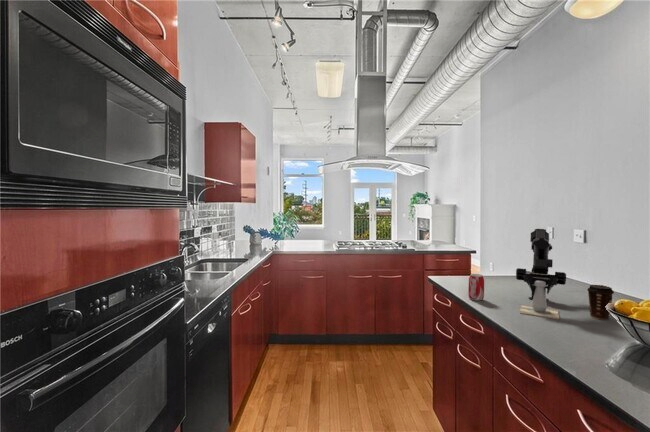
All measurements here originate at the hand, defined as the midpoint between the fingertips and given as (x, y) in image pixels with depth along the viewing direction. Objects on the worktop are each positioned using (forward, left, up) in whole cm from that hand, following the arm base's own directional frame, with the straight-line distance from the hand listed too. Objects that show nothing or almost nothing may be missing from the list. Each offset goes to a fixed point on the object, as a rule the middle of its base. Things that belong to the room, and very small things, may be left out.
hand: (539, 292), depth 151 cm
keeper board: (-1, -1, -9) cm, 9 cm away
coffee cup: (-17, +15, -9) cm, 24 cm away
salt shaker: (-1, -1, -9) cm, 9 cm away
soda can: (+6, -27, -9) cm, 29 cm away
